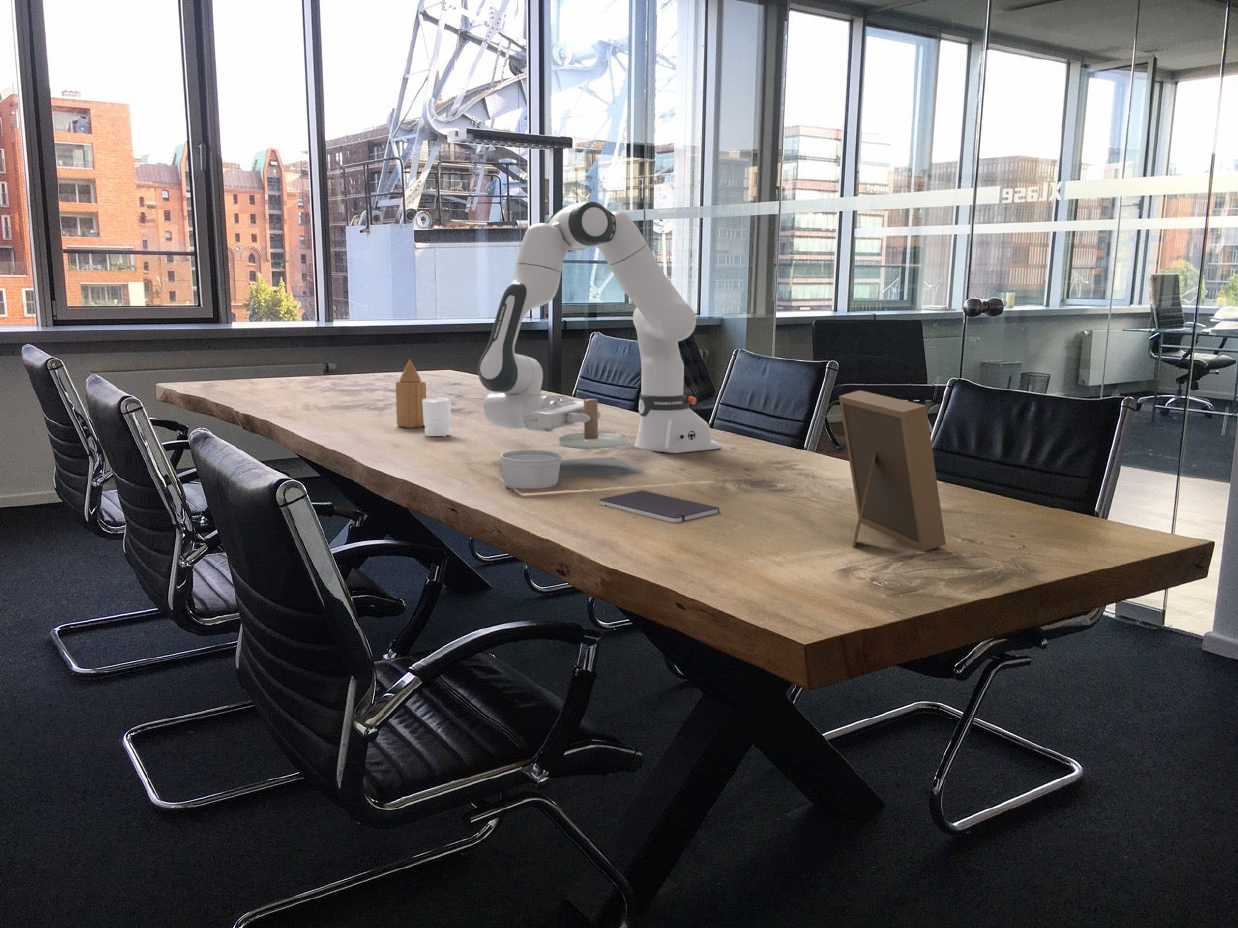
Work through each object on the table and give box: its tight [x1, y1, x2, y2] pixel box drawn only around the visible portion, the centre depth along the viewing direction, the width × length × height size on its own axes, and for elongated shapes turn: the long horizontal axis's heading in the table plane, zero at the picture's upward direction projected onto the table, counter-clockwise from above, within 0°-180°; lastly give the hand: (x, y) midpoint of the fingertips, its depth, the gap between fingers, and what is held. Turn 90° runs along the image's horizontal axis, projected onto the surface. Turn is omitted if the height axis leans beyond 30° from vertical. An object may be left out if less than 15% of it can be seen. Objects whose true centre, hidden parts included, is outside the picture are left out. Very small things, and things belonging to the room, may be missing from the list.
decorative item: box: [395, 358, 427, 429], centre depth 305 cm, size 7×7×20 cm
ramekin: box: [499, 449, 562, 491], centre depth 225 cm, size 13×13×7 cm
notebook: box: [599, 489, 720, 523], centre depth 206 cm, size 13×2×21 cm
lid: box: [558, 398, 624, 450], centre depth 243 cm, size 15×15×10 cm
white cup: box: [422, 397, 452, 437], centre depth 291 cm, size 8×8×10 cm
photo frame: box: [838, 389, 947, 552], centre depth 184 cm, size 15×22×25 cm
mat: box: [558, 456, 644, 478], centre depth 245 cm, size 20×20×1 cm
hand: (594, 416), depth 242 cm, fingers closed on lid, 3 cm apart
